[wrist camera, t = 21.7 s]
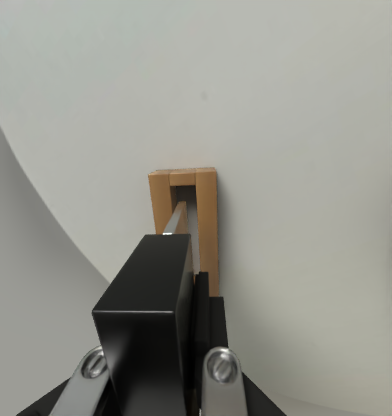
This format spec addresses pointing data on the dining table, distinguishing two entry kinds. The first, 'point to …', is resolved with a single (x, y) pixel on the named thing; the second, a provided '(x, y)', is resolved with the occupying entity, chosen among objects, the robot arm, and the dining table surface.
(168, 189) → the knife stand
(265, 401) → the robot arm
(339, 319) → the dining table surface
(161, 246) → the knife
